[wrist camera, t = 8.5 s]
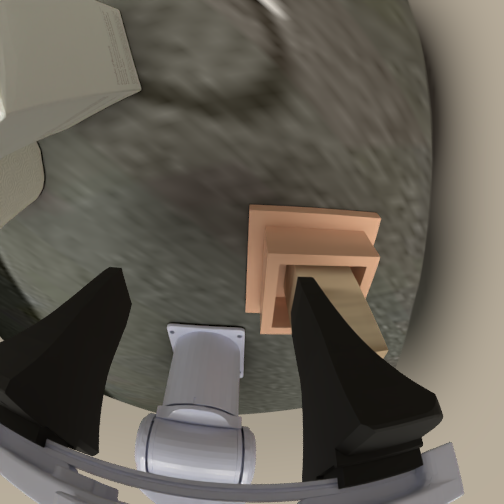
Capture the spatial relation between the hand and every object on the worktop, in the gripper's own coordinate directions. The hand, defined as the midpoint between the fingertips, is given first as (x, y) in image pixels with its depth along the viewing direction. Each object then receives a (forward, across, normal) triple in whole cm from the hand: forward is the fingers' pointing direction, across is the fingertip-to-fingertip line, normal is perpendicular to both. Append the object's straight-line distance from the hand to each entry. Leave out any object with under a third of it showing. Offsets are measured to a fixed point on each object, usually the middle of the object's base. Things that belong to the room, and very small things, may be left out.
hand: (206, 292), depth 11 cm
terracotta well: (+10, -7, +6) cm, 14 cm away
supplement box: (+11, +10, -10) cm, 18 cm away
